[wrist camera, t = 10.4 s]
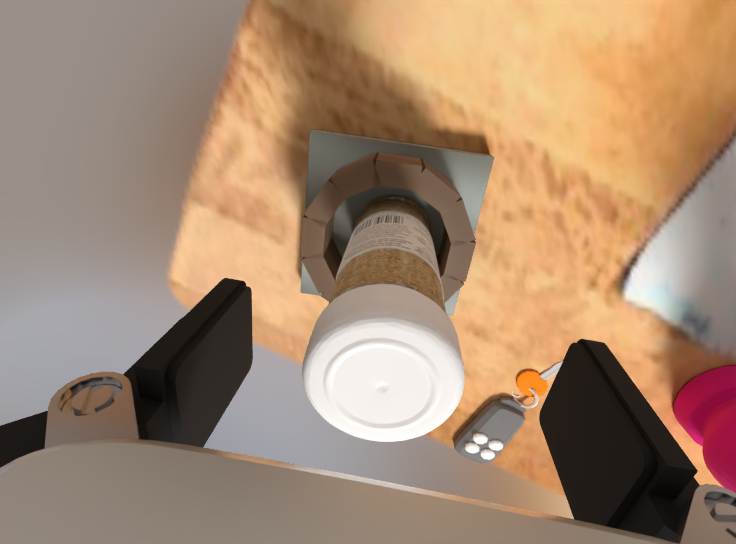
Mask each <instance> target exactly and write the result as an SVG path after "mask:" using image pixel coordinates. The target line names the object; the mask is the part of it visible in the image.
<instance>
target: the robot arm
mask: <svg viewBox="0 0 736 544" xmlns="http://www.w3.org/2000/svg"><path fill="white" fill-rule="evenodd" d="M252 354H253V351H252V293H251V288H250V287H247V286H246V283H245V282H244V281H240V280H234V279H228V278H224V279H223V280H221V281H220V282H219V283H218V284H217V285H216V286H215V287H214V288H213V289H212V290H211V291H210V292H209V293H208V294H207V295H206V296H205V297H204V298H203V299H202V300H201V301H200V302H199V303H198V304H197V305H196V306H195V307H194V308H193V309H192V310H191V311H190V312H189V313H188V314H187V315H186V316H184V317H183V318H182V319H180V320H179V321H178V322H177V323H176V324H175V325H174V326H173V327H172V328H171V329H170V330H169V331H168V332H167V333H166V334H165V335H164V336H163V337H162V338H160V340H159V341H157V342H156V343H155V344H154V345H153V346H152V347H151V348H150V349H149V350H148V351H147V352H146V353H145V354H144V355H143V356H142V357H141V358H140V359H139V360H138V361H137V362H136V363H135V364H134V365H133V366H132V367H131V368H129V369H128V370H127V371H126V372H125V373H124V374H119V373H116V372H98V373H92V374H89V375H86V376H82V377H79V378H77V379H75V380H73V381H71V382H70V383H67V384H66V385H65V386H64V387H62V388H61V389H59V390H58V391H57V392H56V393H55V395H54V396H53V397H52V398H51V401H50V403H49V406H48V411H45V412H42V413H39V414H36V415H33V416H30V417H26V418H23V419H20V420H17V421H14V422H11V423H8V424H5V425H2V426H0V544H736V493H735V492H733V491H731V490H729V489H726V488H723V487H720V486H717V485H709V484H705V485H701V486H700V485H699V484H698V482H697V481H696V480H695V478H694V475H695V474H696V473H697V472H698V471H697V469H696V468H695V467H694V465H693V464H692V463H691V461H690V460H689V458H688V457H687V456H686V454H685V453H684V452H683V450H682V449H681V447H680V446H679V445H678V443H677V442H676V440H675V439H674V438H673V436H672V435H671V434H670V432H669V431H668V429H667V428H666V427H665V425H664V424H663V423H662V421H661V420H660V418H659V417H658V416H657V414H656V413H655V412H654V410H653V409H652V407H651V406H650V405H649V403H648V402H647V401H646V399H645V398H644V396H643V395H642V394H641V392H640V391H639V390H638V388H637V387H636V385H635V384H634V383H633V381H632V380H631V378H630V377H629V376H628V374H627V373H626V372H625V370H624V369H623V367H622V366H621V365H620V363H619V362H618V361H617V359H616V358H615V356H614V355H613V354H612V352H611V351H610V350H609V348H608V347H607V345H606V344H605V343H602V342H597V341H591V340H585V339H580V340H579V341H578V342H577V343H572V344H571V345H570V347H569V349H568V351H567V353H566V356H565V358H564V360H563V362H562V364H561V367H560V369H559V371H558V373H557V375H556V378H555V380H554V382H553V384H552V386H551V389H550V391H549V393H548V395H547V398H546V400H545V402H544V404H543V406H542V409H541V411H540V417H539V420H540V425H541V428H542V431H543V433H544V436H545V439H546V442H547V444H548V447H549V450H550V453H551V456H552V458H553V461H554V464H555V467H556V470H557V472H558V475H559V478H560V481H561V484H562V486H563V489H564V492H565V495H566V497H567V500H568V503H569V506H570V509H571V511H572V514H573V517H574V519H569V518H563V517H559V516H554V515H549V514H544V513H539V512H534V511H529V510H525V509H520V508H515V507H510V506H505V505H500V504H495V503H490V502H485V501H480V500H475V499H470V498H465V497H460V496H455V495H450V494H445V493H440V492H434V491H430V490H425V489H419V488H415V487H410V486H404V485H399V484H394V483H389V482H384V481H378V480H374V479H369V478H363V477H358V476H353V475H348V474H343V473H338V472H333V471H327V470H322V469H317V468H311V467H306V466H301V465H295V464H290V463H285V462H280V461H275V460H269V459H264V458H259V457H254V456H248V455H243V454H237V453H231V452H225V451H220V450H214V449H208V448H203V447H204V445H205V443H206V441H207V440H208V438H209V437H210V435H211V433H212V432H213V430H214V428H215V427H216V425H217V423H218V422H219V420H220V418H221V417H222V415H223V413H224V412H225V410H226V408H227V407H228V405H229V403H230V402H231V400H232V398H233V397H234V395H235V394H236V392H237V390H238V389H239V387H240V385H241V384H242V382H243V380H244V378H245V377H246V375H247V373H248V372H249V370H250V368H251V364H252V358H253V355H252Z"/></svg>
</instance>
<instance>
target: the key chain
mask: <svg viewBox="0 0 736 544" xmlns="http://www.w3.org/2000/svg"><path fill="white" fill-rule="evenodd" d="M562 362H563V361H561V362H559V363H557V364H555V365H553V366H552V367H551V368H550V369H548V370H546V371H545V372H543V373H542V374H540V375H539V374H538V372H535V371H533V370H527V371H524V372H522V373H520V375H519V376H518V377H517V386H518V388H519V389H520V391H521V392H522V393H524V394H525V395H527V396H531V397H534V398H535V399H534V402H533V403H532V404H529V405H525V404H522V403H520V402H519V401H518V400H517V399H516V398H518V397H521V396H517V395H514V394H513V390H512V391H511V394H512V395H513V396H514V398H513V399H511V398H509V397H501V398H500V399H499V400H494V401H492V402H491V403H490V404H488V405H487V406H486V407H485V408H484V409H483V410H482V411H481V412H480V413H479V414H478V415H477V416H476V418H475V419H474V420H473V421H472V422H471V423H470V424H469V425H468V426H467V427H466V428H465V429H464V430H463V431H462V432H461V433H460V434H459V436H458V437H457V438H456V440H455V442H454V447H455V449H456V450H457V452H458V453H460V454H461V455H462V456H464V457H467V458H469V459H471V460H473V461H476V462H479V463H490V462H491V461H493V460H494V459H495V458H496V457H497V456H498V455H499V454H500V452H501V451H502V450H503V449H504V447H505V446H506V445H507V444H508V442H509V441H510V440H511V439H512V437H513V436H514V435H515V434H516V432H517V431H518V430H519V429H520V427H521V426H522V424H523V422H524V420H525V416H524V414H523V413H524V412H525V411H526V410H525V408H533V407H534V406H536V405H537V404H538V401H539V398H538V396H541V395H543V394H544V393H545V392H546V391H547V388H548V385H547V382H546V380H547V379H548V378H550V377H551V376H553V375H554V374H556V373H557V372H558V371H559V369H560V367H561V364H562ZM515 397H516V398H515Z"/></svg>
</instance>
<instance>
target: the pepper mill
mask: <svg viewBox="0 0 736 544" xmlns="http://www.w3.org/2000/svg"><path fill="white" fill-rule="evenodd" d="M674 414H675V417H676V419H677V421H678V422H679V423H680V425H681V426H682V427H683V428H684V429H685V430H686V432H687V433H688V434H689V435H690V436H691V438H692V439H693V440H694V441H695V442H696V443H698V444H699V445H701V446H703V457H704V461H705V464H706V466H707V468H708V469H709V471H710V472H711V474H712V475H713V476H714V478H715V479H716V480H717V481H718V482H719V483H720V484H721V485H722V486H723V487H724V488H726V489H729V490H731V491H733V492H735V493H736V366H724V367H721V368H717V369H713V370H709V371H707V372H705V373H703V374H701V375H699V376H697V377H695V378H694V379H693V380H691V381H690V382H689V383H687V384H686V385H685V386H684V387H683V389H682V390H681V391H680V392H679V394H678V396H677V398H676V400H675V402H674Z"/></svg>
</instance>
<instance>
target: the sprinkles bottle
mask: <svg viewBox="0 0 736 544" xmlns="http://www.w3.org/2000/svg"><path fill="white" fill-rule="evenodd" d="M302 371H303V373H302V374H303V383H304V387H305V390H306V393H307V396H308V398H309V400H310V402H311V403H312V405H313V406H314V408H315V409H316V411H317V412H318V413H319V414H320V415H321V416H322V417H323V418H324V419H326V420H327V421H328V422H329V423H330V424H332V425H333V426H335V427H336V428H338V429H340V430H342V431H344V432H346V433H348V434H350V435H353V436H356V437H360V438H363V439H367V440H372V441H383V442H392V441H402V440H408V439H412V438H415V437H418V436H421V435H424V434H426V433H428V432H430V431H432V430H433V429H435V428H436V427H438V426H439V425H441V424H442V423H443V422H444V421H445V420H446V419H447V418H448V417H449V416H450V415H451V414H452V413H453V411H454V410H455V408H456V407H457V405H458V403H459V401H460V399H461V396H462V392H463V389H464V379H465V378H464V366H463V360H462V355H461V350H460V346H459V341H458V337H457V333H456V330H455V328H454V326H453V324H452V322H451V320H450V318H449V317H448V315H447V313H446V307H445V304H444V294H443V287H442V282H441V278H440V273H439V269H438V264H437V259H436V254H435V249H434V244H433V240H432V237H431V225H430V221H429V219H428V217H427V214H426V213H425V211H424V210H423V209H422V208H421V207H420V206H419V205H418V204H417V203H416V202H414V201H412V200H411V199H408V198H406V197H403V196H399V195H395V196H392V195H389V196H385V197H379V198H377V199H375V200H373V201H371V202H370V203H369V204H367V205H366V206H365V207H364V209H363V210H362V211H361V212H360V213H359V215H358V217H357V220H356V222H355V226H354V231H353V233H352V235H351V238H350V240H349V243H348V246H347V248H346V251H345V253H344V256H343V259H342V261H341V264H340V267H339V269H338V272H337V275H336V281H335V287H334V290H333V293H332V295H331V298H330V302H329V305H328V306H327V307H326V308H325V309H324V311H323V312H322V313H321V315H320V316H319V318H318V320H317V322H316V324H315V327H314V329H313V332H312V335H311V337H310V340H309V343H308V347H307V350H306V353H305V357H304V361H303V367H302Z"/></svg>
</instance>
